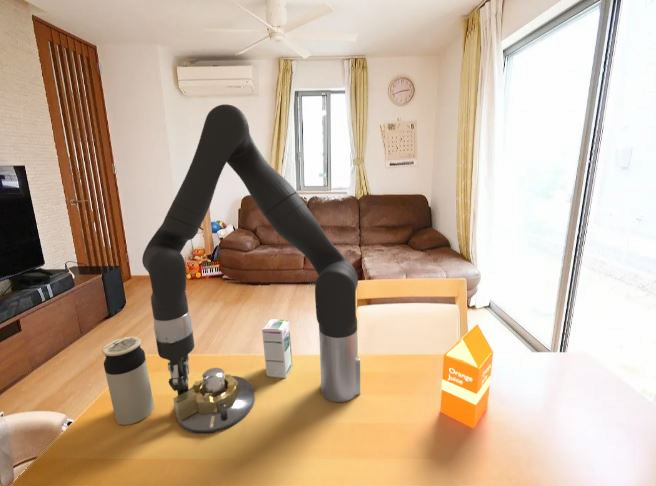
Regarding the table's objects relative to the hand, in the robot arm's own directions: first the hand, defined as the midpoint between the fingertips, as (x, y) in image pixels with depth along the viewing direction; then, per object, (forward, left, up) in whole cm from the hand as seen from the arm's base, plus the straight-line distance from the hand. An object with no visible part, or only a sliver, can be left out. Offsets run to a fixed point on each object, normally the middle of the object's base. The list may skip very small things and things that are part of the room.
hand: (184, 398), depth 79 cm
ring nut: (-5, +1, -1) cm, 6 cm away
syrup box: (-23, -9, -3) cm, 25 cm away
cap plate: (-7, 0, -3) cm, 8 cm away
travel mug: (+11, -2, -3) cm, 12 cm away
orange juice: (-63, +17, -3) cm, 65 cm away
